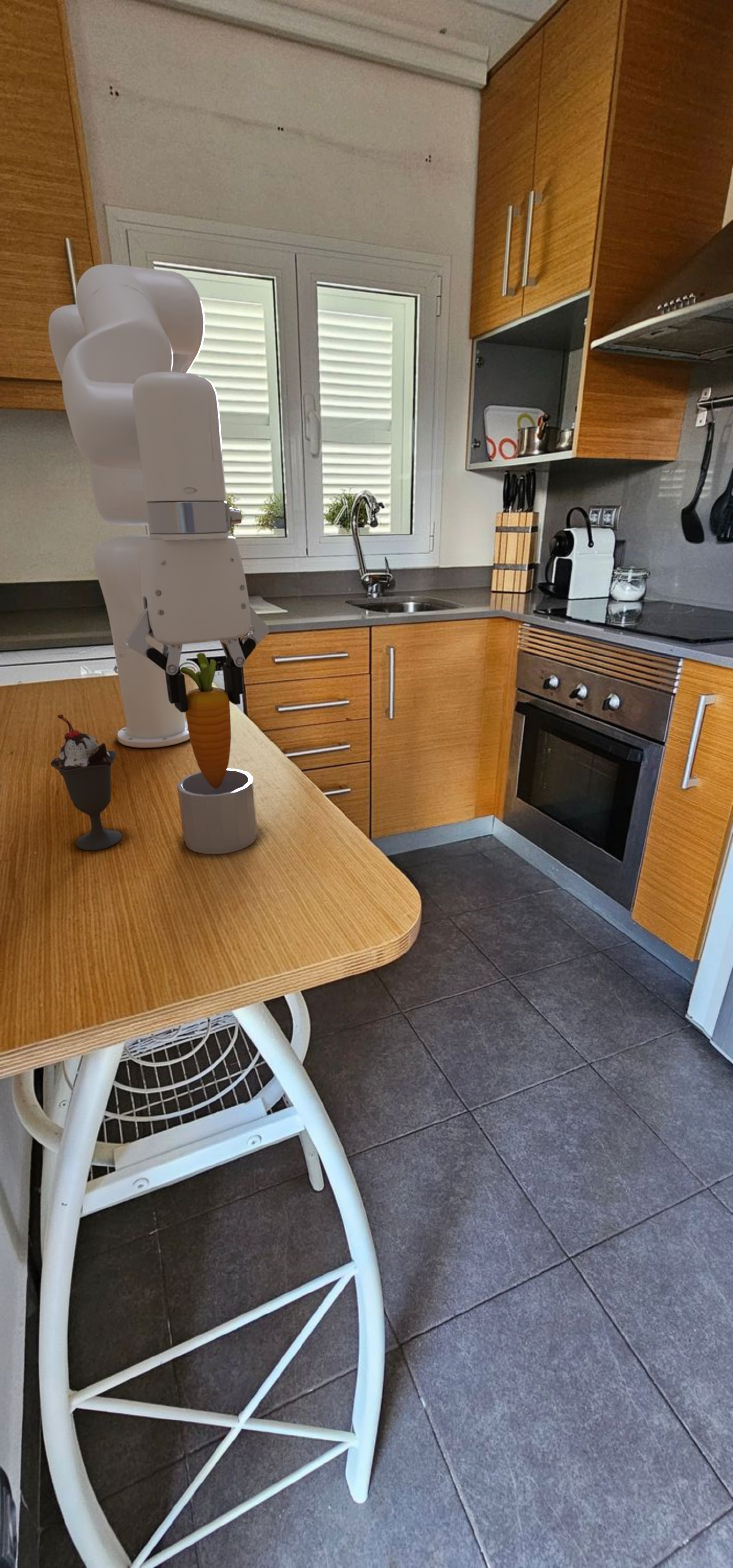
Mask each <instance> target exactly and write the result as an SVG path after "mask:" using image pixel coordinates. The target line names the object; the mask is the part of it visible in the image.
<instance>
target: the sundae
mask: <svg viewBox="0 0 733 1568" xmlns="http://www.w3.org/2000/svg"><path fill="white" fill-rule="evenodd" d="M57 718H58V719H60V720H61V721H63V722H65V723H66V724H67V727H68V732H67V733H65V734H64V735H63V736H64V740H65V743H64V744H63V745H62V746H61V747H60V750H59V754H58V755H59V756H58V757H56V758H54V759H52V760H51V762H50V766H51V767H53V768H55V769H56V770H57V771H59V773H60V775H61V776H62V778H63V781H64V784H65V786H66V790H67V793H68V795H69V798H70V800H71V802H72V805H73V806H74V808H76V809H77V810H78V811H79V812H80V813H83V814H85V815H86V816H87V815H88V816H89V821H90V832H87V833H85V834H84V835H82V836H80V837H79V838H78V839H77V840H76V843H75V844H76V845H75V846H76V847H77V848H79V849H81V850H83V851H100V850H104V849H108V848H111V847H114V846H115V845H117V844H119V843H120V842H121V840H122V838H123V835H122V833H121V832H119V831H118V830H114V829H105V827H104V825H103V822H102V817H101V813H102V812H103V811H104V810H106V809H107V807H108V805H110V802H111V801H112V764H113V763H114V762H115V760H116V758H117V752H116V751H114V750H107V745H106V743H104V742H103V743H101V744H99V741H98V740H97V739H96V738H94V737H93V736H92V735H90V734H87V733H82V732H80V731H79V730H77V729H74V728H73V726H72V724H71V723H70V721H69V720H68V719H67V718H66V717H64V714H58V715H57Z"/></svg>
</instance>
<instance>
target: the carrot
mask: <svg viewBox="0 0 733 1568" xmlns="http://www.w3.org/2000/svg"><path fill="white" fill-rule="evenodd" d="M196 658H197V661H198V664H199V670H198V671H196V672H195V671H194V670H193V669H191V668H189V667H186V666H182V667H180V672H181V673H182V674H183V675H187V676H188V677H189V678H191V680H193V682H194V683H195V684H196V686H197V687H198V688H193V689H191V690H189V691H188V692H186V694H187V703H188V710H187V711H186V712H185V719H186V721H187V725H188V731H189V737H190V739H189V741H190V744H191V748H192V752H193V755H194V758H195V761H196V763H197V767H198V768H199V771H201V772H202V774H203V776H204V777H205V779H206V780H207V781H208V783H209V784H210V786H212V787H213V788H214V789H218V788H219V787H220V785H221V784H222V781H223V779H224V777H225V774H226V771H227V769H228V767H229V763H230V756H231V755H230V754H231V743H232V727H231V726H232V725H231V705H230V703H231V702H230V701H229V696H228V693H227V692H226V691H225V689H223V688H220V687H215V686H213V682H214V680H215V679H214V678H215V674H216V670H217V662H216V660H215V659H210V660H209V661H210V662H209V661H208V658H207V656H206V654H205V653H204V652H199V653H197V654H196Z"/></svg>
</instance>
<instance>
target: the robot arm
mask: <svg viewBox="0 0 733 1568" xmlns="http://www.w3.org/2000/svg"><path fill="white" fill-rule="evenodd" d="M75 302H76V303H74V304H67V305H62V306H60V307H57V308H55V310H53V311H52V312H51V314H50V315H49V319H48V338H49V344H50V348H51V352H52V356H53V360H54V363H55V366H56V369H57V372H58V376H59V377H60V380H61V385H62V386H61V387H62V397H63V403H64V407H65V411H66V415H67V419H68V422H69V427H70V429H71V434H72V437H73V441H74V442H75V445H76V447H77V449H78V451H79V453H80V454H81V456H82V457H83V458H84V459H85V460H86V461H87V463H88V467H89V473H90V479H91V485H92V491H93V496H94V501H95V505H96V508H97V511H98V513H99V515H100V516H101V518H102V519H103V520H104V521H105V522H107V523H108V524H111V525H114V526H126V527H127V526H128V527H129V526H130V527H131V526H132V527H133V526H134V527H135V526H136V527H137V526H139V527H141V526H147V527H148V532H149V533H148V534H126V535H116V536H112V537H109V538H107V539H104V540H103V541H101V542H100V543H99V544H97V547H96V549H95V551H94V555H93V556H94V557H93V561H94V568H95V572H96V576H97V579H98V582H99V586H100V590H101V593H102V596H103V599H104V603H105V606H106V611H107V615H108V620H109V627H110V632H111V637H112V644H113V649H114V650H113V651H114V656H115V662H116V663H115V664H116V668H117V675H118V684H119V689H120V695H121V702H122V709H123V716H124V722H125V726H124V727H122V728H121V729H120V730H118V732H117V741H118V743H120V744H121V745H123V746H127V747H129V748H130V747H131V748H137V749H138V748H139V749H140V748H141V749H142V748H144V749H145V748H146V749H148V748H151V749H152V748H162V747H168V746H173V745H177V744H181V743H184V742H187V741H188V740H189V741H190V737H189V731H188V725H187V720H186V711H187V710H188V703H187V687H186V677H185V674H184V673H182V672H181V671H180V670H181V667H180V661H181V657H182V656H181V655H182V649H183V645H188V644H189V645H190V644H199V643H210V642H220V644H221V648H222V650H223V652H224V656H225V662H223V664H222V677H223V687H224V690H225V691H226V692H227V693H228V696H229V703H231V704H232V705H235V706H237V705H241V695H243V694H244V691H245V690H244V679H243V668H242V667H244V666H245V664H246V661H247V659H248V658H249V656H250V655H251V654H252V653H253V652H254V650H255V649H256V647H257V645H259V644H260V643H261V642H262V641H263V640H264V639H265V638H266V637H267V636H268V635H269V633H270V632H271V631H270V627H269V626H268V625H267V623H266V622H265V621H264V620H263V619H262V618H261V616H260V615H259V614H258V613H257V612H256V611H255V610H254V609H253V607H251V605H250V598H249V591H248V586H247V585H248V584H247V579H246V574H245V569H244V565H243V561H242V557H241V551H240V548H239V545H238V542H237V541H238V540H237V538H236V536H230V532H231V530H232V526H234V525H237V524H239V525H241V523H242V520H243V517H242V511H241V509H234V508H233V507H230V505H229V502H227V491H226V480H225V468H224V467H225V466H224V458H223V447H222V446H223V445H222V433H221V421H220V408H219V400H218V394H217V391H216V388H215V386H214V384H213V383H212V382H211V381H210V380H209V379H208V378H206V377H205V376H202V375H199V374H195V373H189V371H190V369H191V368H192V366H193V364H194V363H195V361H196V359H197V358H198V356H199V353H200V352H201V349H202V346H203V344H204V343H203V342H204V338H205V327H206V326H205V324H206V322H205V312H204V307H203V304H202V299H201V297H200V295H199V293H198V290H197V288H196V287H195V285H194V284H193V282H192V281H191V280H190V279H189V278H188V277H186V276H185V275H183V274H182V273H179V272H176V271H174V270H173V271H172V270H163V269H155V268H148V267H140V266H132V265H126V264H125V265H124V264H115V263H104V264H97V265H94V266H91V267H90V268H89V269H87V270H85V272H84V273H83V274H82V275H81V276H80V278H79V280H78V282H77V285H76V290H75ZM239 639H240V640H239Z"/></svg>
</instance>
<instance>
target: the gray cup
mask: <svg viewBox="0 0 733 1568" xmlns="http://www.w3.org/2000/svg"><path fill="white" fill-rule="evenodd" d="M176 789H177V797H178V804H179V811H180V813H179V814H180V819H181V828H182V836H183V839H184V844H185V846H186V847H187V848H188V849H189V850H191V851H192V852H196V853H198V854H202V855H225V854H230V853H235V852H238V851H241V850H243V849H245V848H247V847H249V846H250V845H252V844H253V843H254V842H256V840H257V838H258V823H257V810H256V809H257V808H256V797H255V796H256V795H255V785H254V777H253V776H252V775H251V774H250V773H249V772H248V771H244V770H241V769H236V768H227V771H226V774H225V777H224V779H223V781H222V784H221V785H220V787H219V788H218V789H214V788H213V787H212V786H210V784H209V783H208V781H207V780H206V779H205V777H204V776H203V774H202V772H201V770H199V771H196V772H194V773H191V774H187V775H186V776H184V777H183V778H181V779H180V780H179V781H178V783H177V785H176Z"/></svg>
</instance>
